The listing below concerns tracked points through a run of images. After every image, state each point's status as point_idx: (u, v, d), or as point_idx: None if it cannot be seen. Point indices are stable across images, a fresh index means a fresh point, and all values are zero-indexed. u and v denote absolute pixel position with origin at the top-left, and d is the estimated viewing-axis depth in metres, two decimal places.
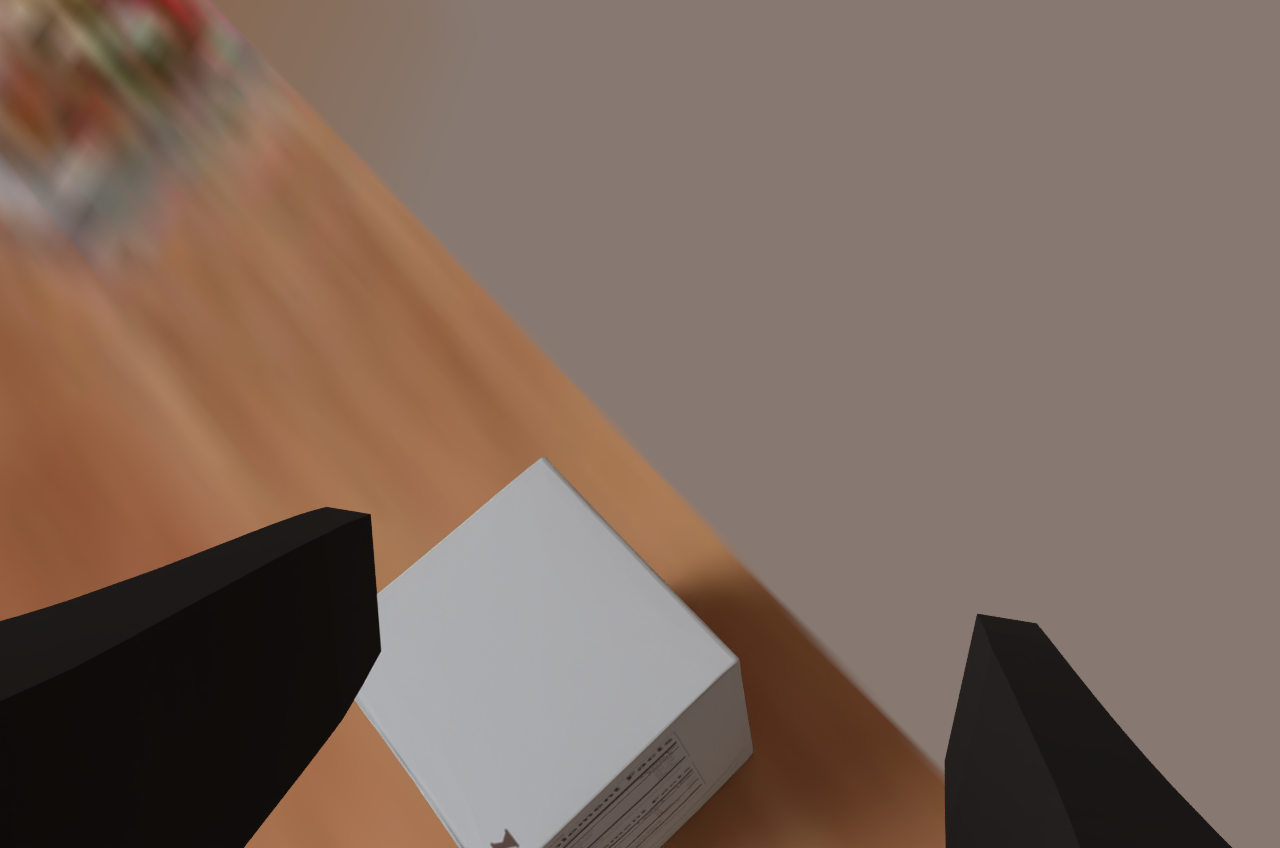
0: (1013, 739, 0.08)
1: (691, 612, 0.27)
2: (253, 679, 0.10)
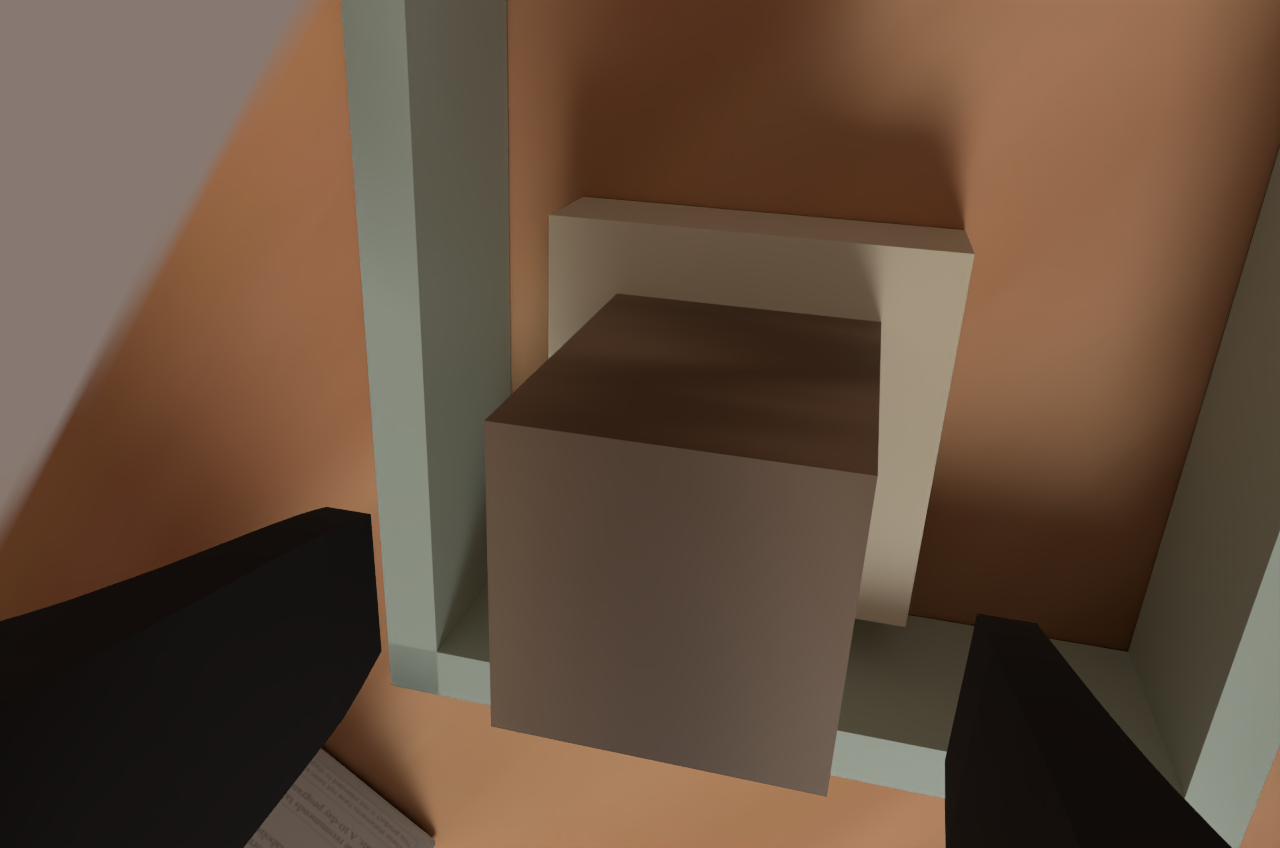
0: (1013, 739, 0.08)
1: None
2: (252, 679, 0.10)
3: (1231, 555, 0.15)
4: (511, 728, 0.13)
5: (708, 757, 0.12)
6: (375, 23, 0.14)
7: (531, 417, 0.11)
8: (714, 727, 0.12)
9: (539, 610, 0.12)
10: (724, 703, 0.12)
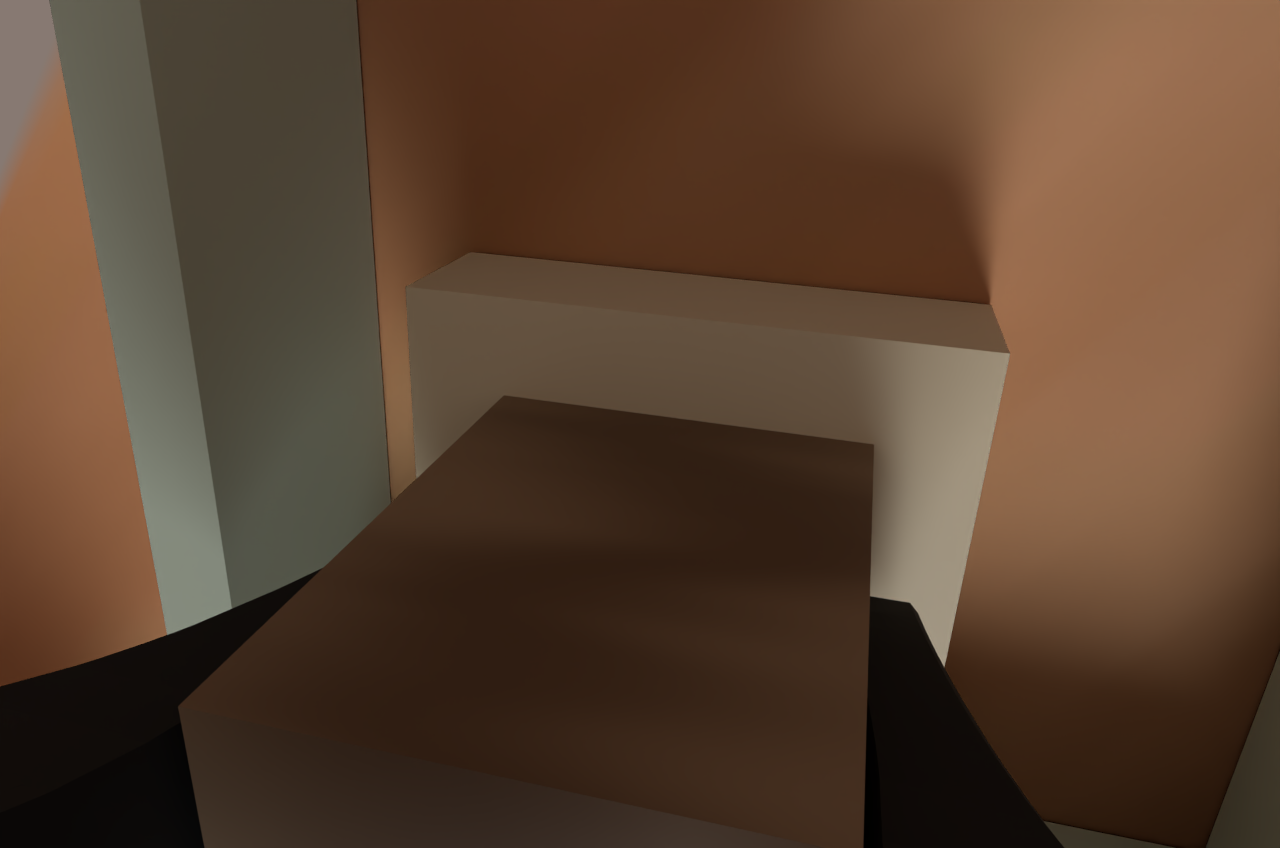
0: None
1: None
2: None
3: None
4: None
5: None
6: (98, 15, 0.09)
7: (267, 693, 0.06)
8: None
9: None
10: None
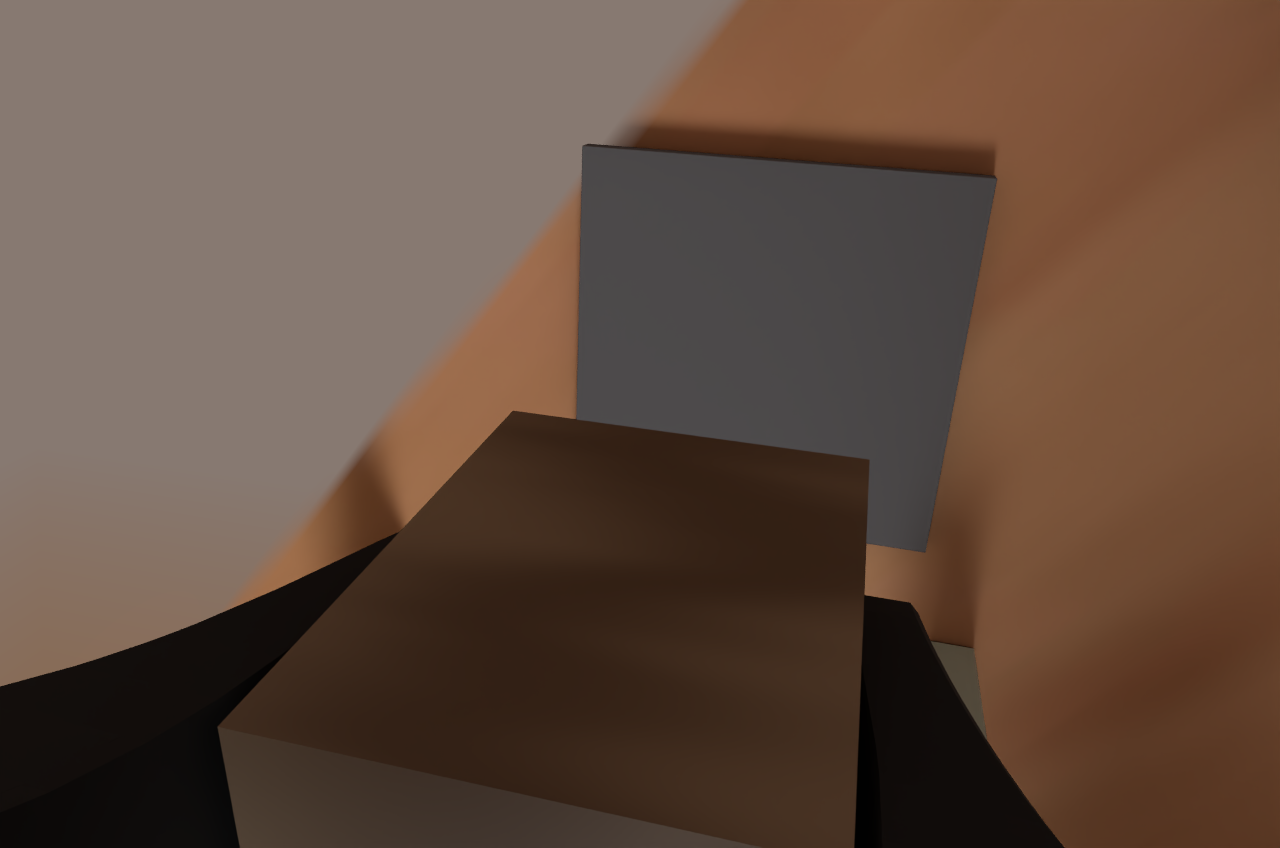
0: None
1: None
2: None
3: None
4: None
5: None
6: None
7: (299, 713, 0.07)
8: None
9: None
10: None
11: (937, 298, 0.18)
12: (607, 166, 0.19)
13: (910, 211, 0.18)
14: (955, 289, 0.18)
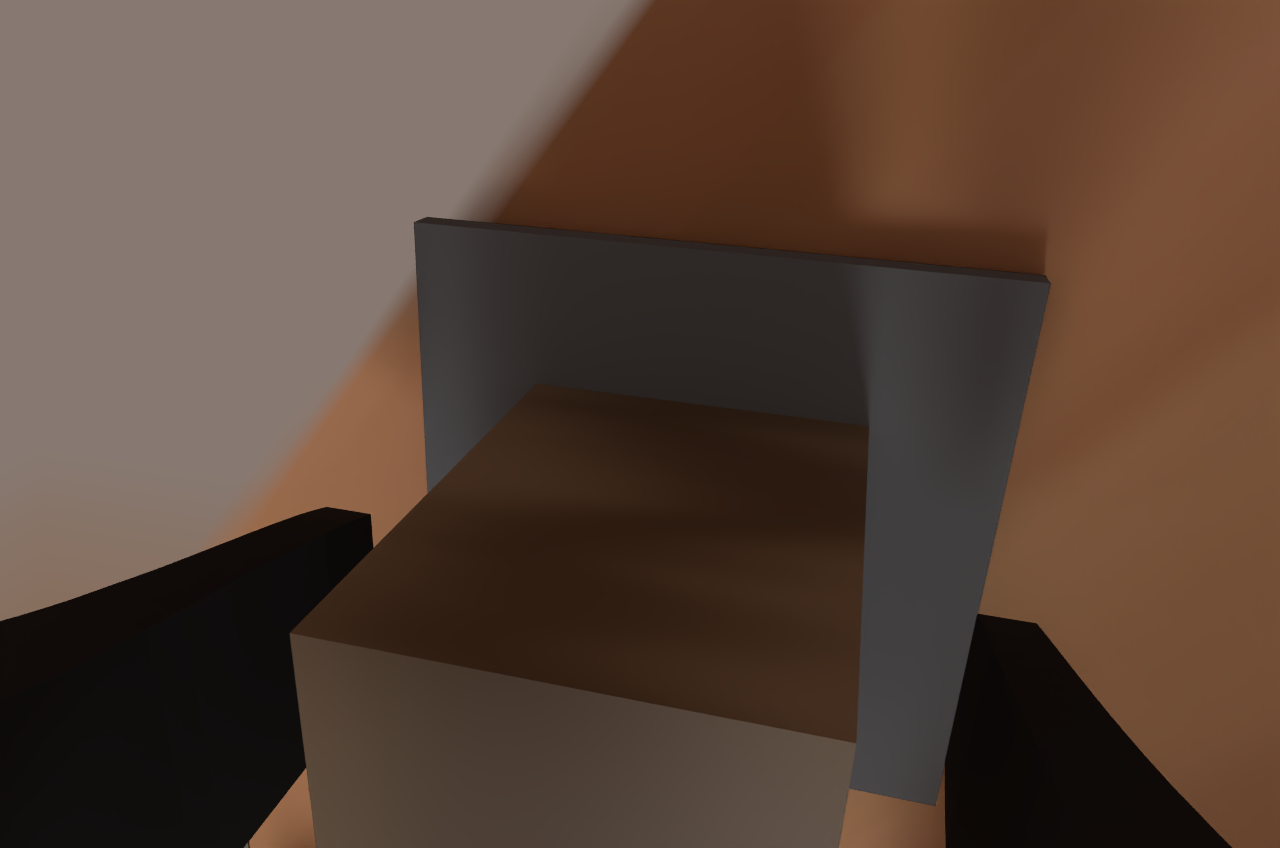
0: (1013, 739, 0.08)
1: None
2: (253, 679, 0.10)
3: None
4: None
5: None
6: None
7: (361, 624, 0.08)
8: None
9: None
10: None
11: (954, 458, 0.12)
12: (452, 253, 0.13)
13: (912, 329, 0.12)
14: (982, 447, 0.12)
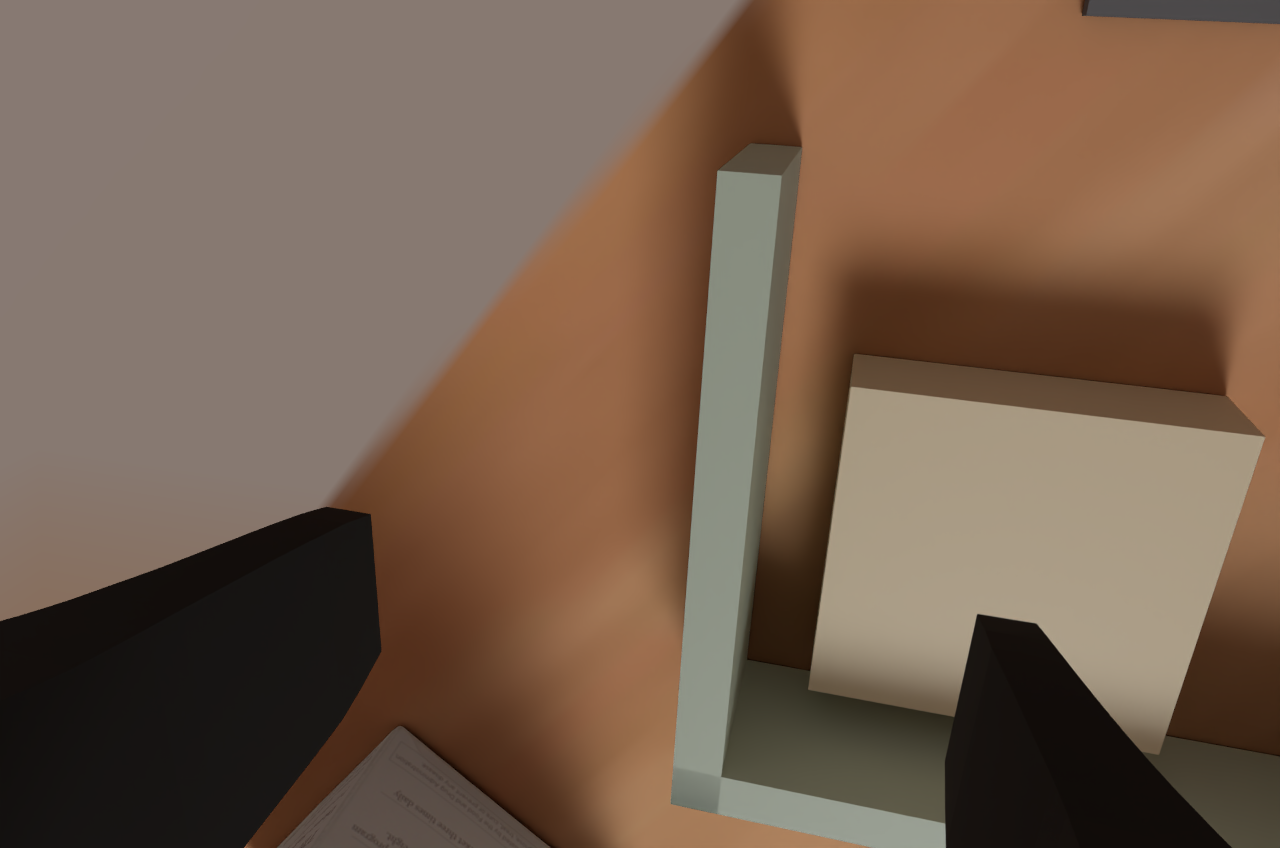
0: (1013, 739, 0.08)
1: None
2: (253, 679, 0.10)
3: None
4: None
5: None
6: (745, 242, 0.15)
7: None
8: None
9: None
10: None
11: None
12: None
13: None
14: None
